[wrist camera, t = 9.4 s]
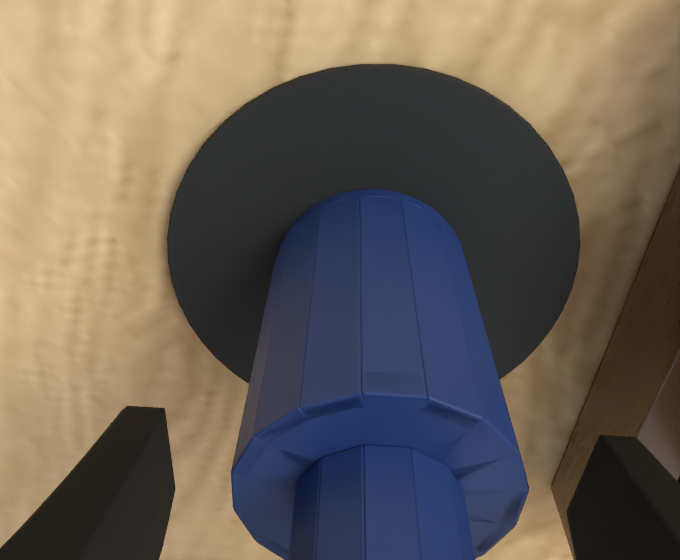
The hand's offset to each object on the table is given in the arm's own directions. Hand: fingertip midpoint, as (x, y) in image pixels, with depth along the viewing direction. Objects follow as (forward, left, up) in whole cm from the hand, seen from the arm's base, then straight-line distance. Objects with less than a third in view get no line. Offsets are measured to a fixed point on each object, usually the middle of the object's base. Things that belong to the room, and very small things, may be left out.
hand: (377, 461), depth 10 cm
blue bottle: (0, 0, -6) cm, 6 cm away
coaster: (0, 0, -6) cm, 6 cm away
